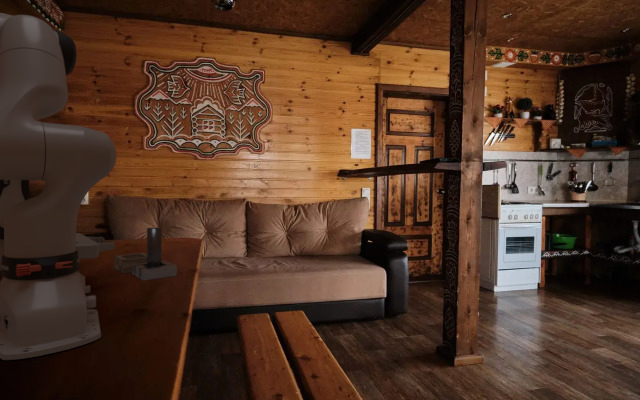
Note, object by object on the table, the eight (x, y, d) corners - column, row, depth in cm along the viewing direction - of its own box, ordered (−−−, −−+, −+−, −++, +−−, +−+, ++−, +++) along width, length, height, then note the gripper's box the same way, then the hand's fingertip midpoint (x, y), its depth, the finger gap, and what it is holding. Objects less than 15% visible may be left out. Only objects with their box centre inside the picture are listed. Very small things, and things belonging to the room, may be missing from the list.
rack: (153, 269, 122) (153, 256, 122) (122, 273, 116) (122, 260, 116) (143, 264, 129) (143, 252, 129) (114, 268, 123) (113, 255, 122)
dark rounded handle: (163, 275, 115) (163, 228, 114) (149, 277, 112) (149, 229, 112) (158, 272, 118) (158, 227, 117) (144, 274, 115) (145, 228, 115)
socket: (176, 275, 115) (176, 265, 115) (143, 280, 108) (143, 270, 108) (164, 269, 122) (164, 260, 122) (131, 274, 115) (131, 264, 115)
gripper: (56, 241, 89) (120, 236, 99) (41, 230, 104) (99, 227, 114) (56, 268, 90) (120, 261, 99) (42, 253, 105) (99, 248, 114)
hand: (108, 242), depth 107 cm, fingers open, 8 cm apart
